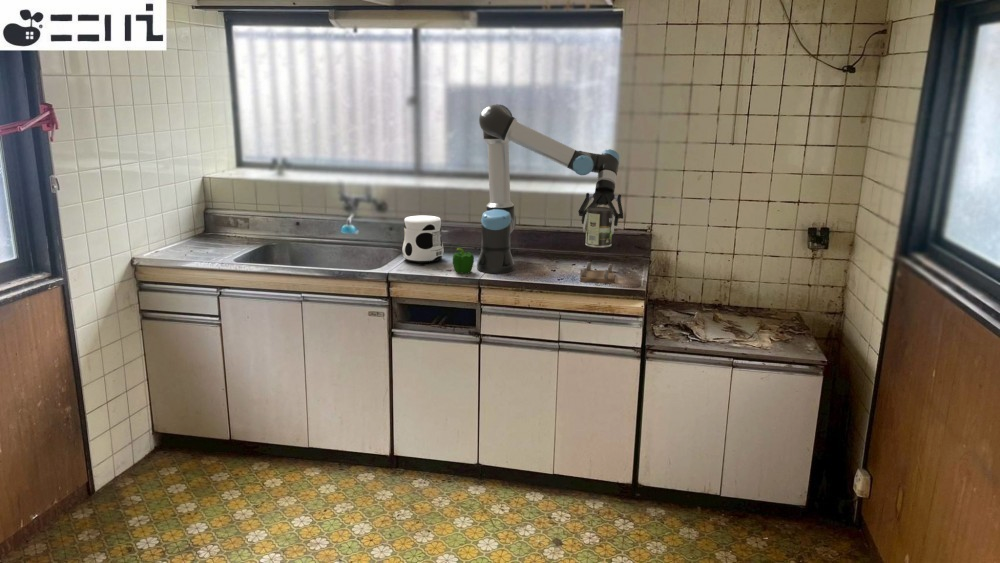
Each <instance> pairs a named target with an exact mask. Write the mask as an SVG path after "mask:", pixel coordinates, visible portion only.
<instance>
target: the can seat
mask: <svg viewBox="0 0 1000 563" xmlns="http://www.w3.org/2000/svg"><path fill="white" fill-rule="evenodd" d="M591 268H592V262H590V261H587V262H586V267H583V268H582V269H580V278H579V279H580V280H579V282H580V283H598V282H600V284H601V283H602V284H603V283H604V284H605V283H606V284H615V282H616V280H615V273H614V270H613V264H612V263H608V266H607V269H604V270H602V269H601V270H600V269H591Z"/></svg>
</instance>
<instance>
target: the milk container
mask: <svg viewBox="0 0 1000 563" xmlns="http://www.w3.org/2000/svg"><path fill="white" fill-rule="evenodd" d="M403 221H404V222H403V232H404V233H403V235H404V236H403V237H404V240H403V244H402V251H401V252H402V256H403V258H404V260H407V261H408V262H412V263H418V264H419V263H421V264H426V263H433V262H438V261H439V260H441V259H442V258H443V255H444V249H445V248H444V244H443V239H442V220H441V218H440V217H439V216H434V215H423V214H422V215H412V216H406V217H405V218H404V219H403Z"/></svg>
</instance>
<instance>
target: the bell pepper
mask: <svg viewBox="0 0 1000 563" xmlns="http://www.w3.org/2000/svg"><path fill="white" fill-rule="evenodd" d="M456 251H459V252H454V253H453V255H452V265H453V270H454V272H455V273H456V274H464V275H466V274H467V275H468V274H470V273H472V272H471V271H472V270H473V268H474V262H475V261H474V260H475V258H474V255H473V254H472V253H471V252H470V251H468V252H464V249H463V248H460V247H457V248H456Z"/></svg>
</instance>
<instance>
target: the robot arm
mask: <svg viewBox="0 0 1000 563" xmlns="http://www.w3.org/2000/svg"><path fill="white" fill-rule="evenodd" d="M478 123H479V127H480V128H481V130H482V132H483V134H482V135H483V140H484V141H485V143H486V145H487V161H488V162H487V163H488V166H487V167H488V188H489V189H488V190H489V202H488V203H486V211H484V212H483V213H482V215H481V220H480V222H481V249H480V254H479V256H478V260H477V263H476V269H477V270H478V271H479V272H481V273H482V272H483V273H487V274H504V273H505V274H506V273H510V272H513V271H514V270H515V263H514V260H513V259H514V258H513V256H512V253H511V233H512V232H513V231H514V230H515V228H516V225H517V218H516V215H515V204H514V203H513V202H512V201H511V183H510V182H511V179H510V152H509V150H510V149H509V148H510V147H509V142H510V141H511V142H512V143H515V144H516V145H518V146H521V147H523V148H525V149H527V150H529V151H531V152H533V153H535V154H538V155H539V156H542V157H543V158H546V159H548V160H550V161H552V162H554V163H556V164H558V165H561V166H563V167H565V168H566V169H568V170H571V171H573V172H574V173H575V174H576V175H578V176H586V175H587V176H588V175H589V174H590V173H596V174H597V178H596V184H595V188H594V189H595V190H594V192H593V193H590V192H587V193H586V194H585V198H584V199H583V202H582V203H581V205H580V208H579V209H578V216H579V217H581V224H582V230H583V233H586V218H587V211H586V209H587V208H589V207H599V206H602V205H603V206H607V207H608V208H612V209H614V211H613V219H612V226H611V234H612V235H614V231H615V227H618V225H619V224H618V222H619V219H624V211H623V206H622V194H621V193H620V194H618V195H615V189H616V183H617V177H618V171H619V170H618V169H619V164H620V155H619V153H618V151H616V150H615V149H612V148H611V149H605V150H603V151H602V152H601V153H593V152H590V151H589V152H588V151H582V150H577V149H574V148H573V147H570V146H569V145H566V144H564V143H562V142H559V141H558V140H556V139H554V138H551V137H549V136H547V135H545V134H543V133H541V132H539V131H537V130H535V129H533V128H531V127H529V126H526V125H524V124H522V123H521V122H518V119H517V118H515V116H513V114H512V111H511V110H510V109H509V108H508V107H507V106H505V105H503V104H497V103H496V104H491V105H489V106H486V107H484V108H483V109H482V111H481V112H480V114H479V118H478ZM592 199H593V201H592V202H591V203H590V201H591V200H592ZM614 200H615V201H616V202H617V207H618V211H617V209H616V207H615V206H614V203H613V201H614ZM589 203H590V204H589Z"/></svg>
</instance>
